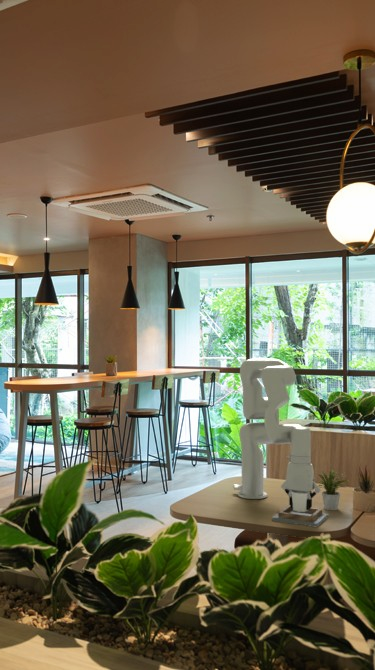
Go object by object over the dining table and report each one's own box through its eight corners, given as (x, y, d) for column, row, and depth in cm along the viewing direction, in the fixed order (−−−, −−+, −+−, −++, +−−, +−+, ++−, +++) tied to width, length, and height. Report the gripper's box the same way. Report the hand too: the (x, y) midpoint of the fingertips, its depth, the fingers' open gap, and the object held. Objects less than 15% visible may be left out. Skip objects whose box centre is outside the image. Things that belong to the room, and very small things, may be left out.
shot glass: (309, 512, 222) (309, 493, 223) (290, 511, 224) (290, 492, 224) (309, 508, 229) (309, 489, 229) (291, 507, 231) (291, 488, 231)
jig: (272, 520, 224) (272, 512, 224) (285, 511, 237) (285, 503, 237) (317, 527, 216) (317, 518, 216) (328, 517, 229) (328, 509, 229)
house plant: (327, 515, 231) (327, 472, 231) (304, 507, 243) (304, 466, 243) (355, 511, 238) (355, 469, 238) (331, 503, 250) (331, 463, 250)
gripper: (275, 459, 228) (275, 507, 227) (320, 463, 220) (320, 513, 219) (282, 456, 234) (282, 503, 234) (325, 460, 226) (325, 508, 226)
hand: (300, 507), depth 227 cm, fingers closed on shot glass, 5 cm apart
